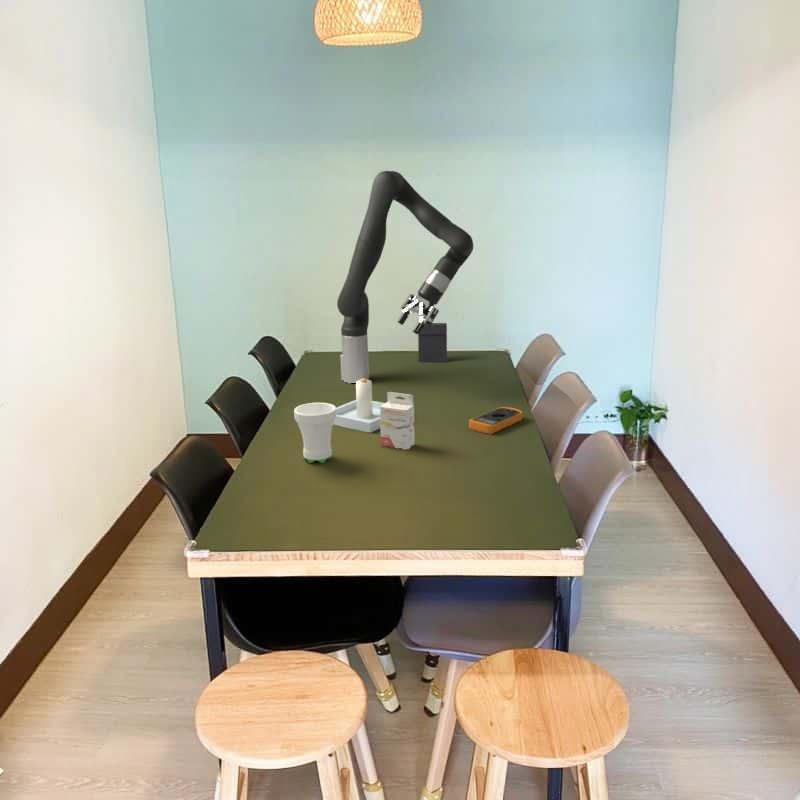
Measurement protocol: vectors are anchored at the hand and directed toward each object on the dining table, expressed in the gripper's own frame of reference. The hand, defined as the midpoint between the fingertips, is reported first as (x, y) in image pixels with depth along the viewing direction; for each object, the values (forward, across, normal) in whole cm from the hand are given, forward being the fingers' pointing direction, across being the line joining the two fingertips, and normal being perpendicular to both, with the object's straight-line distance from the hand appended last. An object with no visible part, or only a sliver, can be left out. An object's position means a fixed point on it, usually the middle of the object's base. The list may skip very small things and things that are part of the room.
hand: (407, 328), depth 259 cm
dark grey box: (+4, -26, +46) cm, 53 cm away
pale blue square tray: (+31, +16, -9) cm, 36 cm away
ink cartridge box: (+30, +41, -16) cm, 53 cm away
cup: (+44, +36, -34) cm, 66 cm away
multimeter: (+10, +45, +10) cm, 47 cm away
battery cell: (+30, +16, -10) cm, 36 cm away
